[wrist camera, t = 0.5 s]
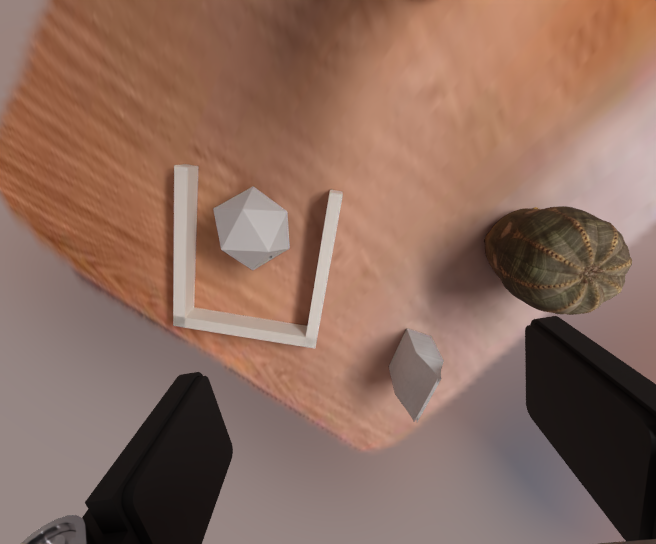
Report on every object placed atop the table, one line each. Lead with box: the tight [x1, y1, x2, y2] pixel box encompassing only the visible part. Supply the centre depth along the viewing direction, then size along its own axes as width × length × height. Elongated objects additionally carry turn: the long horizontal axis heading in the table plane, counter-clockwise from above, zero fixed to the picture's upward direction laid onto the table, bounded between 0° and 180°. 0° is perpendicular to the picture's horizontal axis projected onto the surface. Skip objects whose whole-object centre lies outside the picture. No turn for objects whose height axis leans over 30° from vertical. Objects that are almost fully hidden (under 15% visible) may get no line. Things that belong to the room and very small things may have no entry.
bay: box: [173, 164, 343, 348], centre depth 42 cm, size 20×19×3 cm
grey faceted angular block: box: [389, 328, 444, 422], centre depth 43 cm, size 4×7×10 cm, turn 162°
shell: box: [484, 207, 632, 315], centre depth 36 cm, size 11×11×12 cm
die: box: [213, 186, 290, 270], centre depth 38 cm, size 8×9×10 cm
